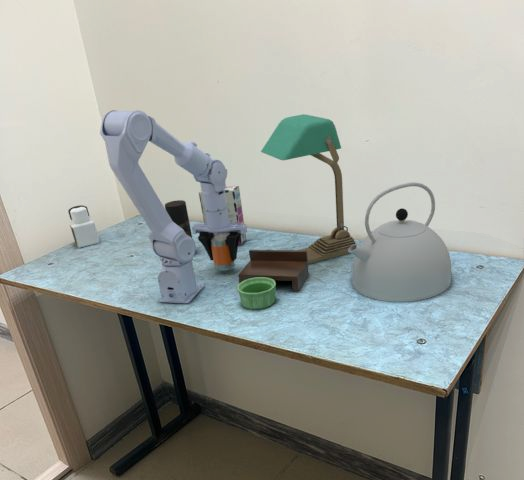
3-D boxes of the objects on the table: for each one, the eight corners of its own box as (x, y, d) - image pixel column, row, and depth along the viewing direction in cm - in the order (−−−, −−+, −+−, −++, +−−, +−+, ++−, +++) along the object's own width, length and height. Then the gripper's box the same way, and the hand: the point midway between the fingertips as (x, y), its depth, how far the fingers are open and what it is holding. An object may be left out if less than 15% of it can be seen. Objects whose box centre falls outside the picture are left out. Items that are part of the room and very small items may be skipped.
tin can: (230, 270, 141) (226, 241, 137) (211, 270, 143) (206, 241, 139) (237, 262, 146) (233, 234, 142) (219, 262, 147) (214, 233, 143)
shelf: (298, 291, 129) (296, 266, 126) (240, 289, 134) (236, 265, 131) (308, 274, 137) (306, 250, 134) (253, 273, 142) (250, 249, 139)
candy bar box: (247, 239, 165) (239, 185, 156) (241, 245, 161) (234, 190, 152) (213, 239, 168) (204, 186, 160) (207, 245, 164) (197, 191, 156)
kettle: (376, 314, 116) (376, 210, 104) (326, 278, 134) (321, 186, 122) (472, 284, 122) (482, 183, 111) (412, 254, 141) (415, 165, 129)
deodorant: (196, 249, 163) (187, 199, 155) (192, 256, 158) (182, 205, 150) (177, 250, 164) (167, 201, 156) (173, 258, 158) (162, 207, 151)
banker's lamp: (365, 255, 144) (362, 113, 126) (293, 274, 138) (280, 129, 120) (336, 238, 157) (330, 108, 139) (270, 255, 151) (255, 121, 133)
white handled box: (75, 242, 182) (64, 207, 176) (96, 237, 184) (86, 202, 178) (78, 248, 176) (67, 212, 170) (100, 243, 178) (89, 207, 172)
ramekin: (240, 313, 123) (237, 295, 121) (239, 296, 131) (236, 279, 129) (279, 307, 123) (277, 290, 121) (275, 291, 131) (273, 274, 129)
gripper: (248, 203, 137) (254, 253, 144) (196, 204, 142) (204, 253, 149) (238, 212, 132) (245, 264, 139) (184, 212, 136) (194, 263, 143)
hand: (223, 259), depth 143 cm, fingers closed on tin can, 5 cm apart
